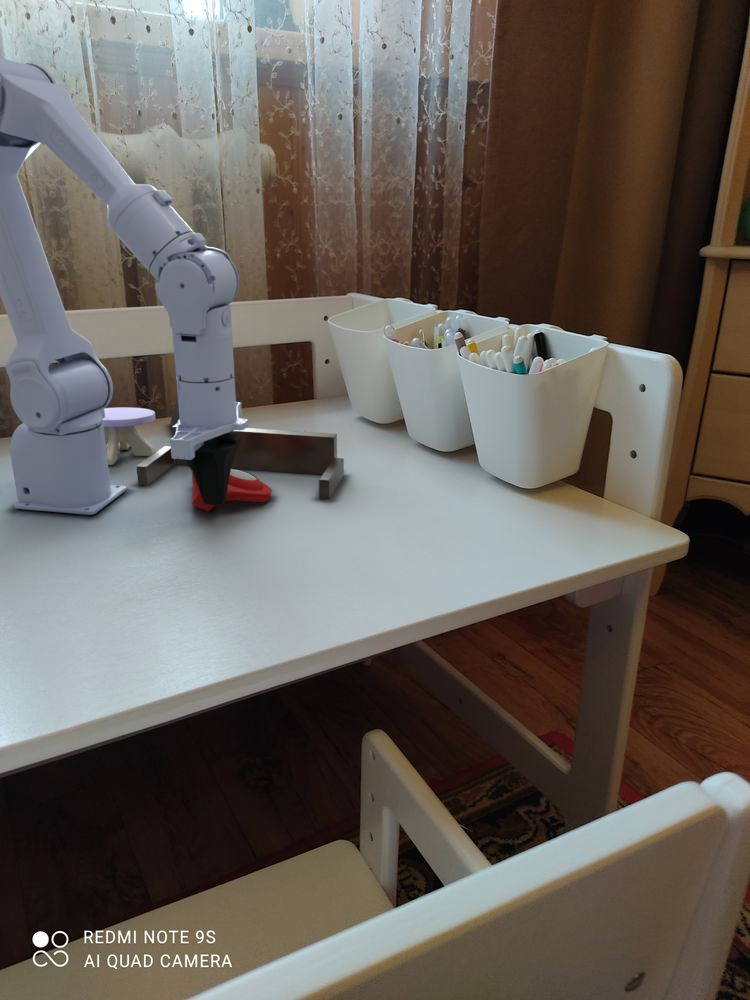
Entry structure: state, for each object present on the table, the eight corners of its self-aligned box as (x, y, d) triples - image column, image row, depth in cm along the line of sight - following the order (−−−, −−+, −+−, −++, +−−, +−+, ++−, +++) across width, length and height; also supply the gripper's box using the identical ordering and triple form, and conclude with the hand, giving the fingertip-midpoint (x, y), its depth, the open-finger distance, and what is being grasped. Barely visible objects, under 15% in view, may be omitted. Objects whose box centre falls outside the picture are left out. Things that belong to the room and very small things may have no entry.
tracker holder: (288, 481, 90) (247, 490, 81) (277, 516, 91) (236, 529, 82) (202, 445, 94) (153, 449, 84) (192, 479, 95) (143, 487, 85)
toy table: (169, 447, 106) (166, 406, 103) (139, 468, 97) (134, 425, 95) (104, 442, 107) (99, 402, 105) (68, 462, 99) (62, 419, 97)
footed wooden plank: (138, 485, 92) (133, 445, 90) (171, 459, 101) (168, 422, 99) (329, 499, 88) (328, 458, 87) (346, 472, 97) (346, 434, 95)
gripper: (217, 396, 70) (226, 533, 75) (266, 364, 83) (270, 482, 88) (144, 392, 71) (158, 527, 76) (203, 361, 84) (212, 477, 89)
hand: (214, 503), depth 82 cm, fingers closed
